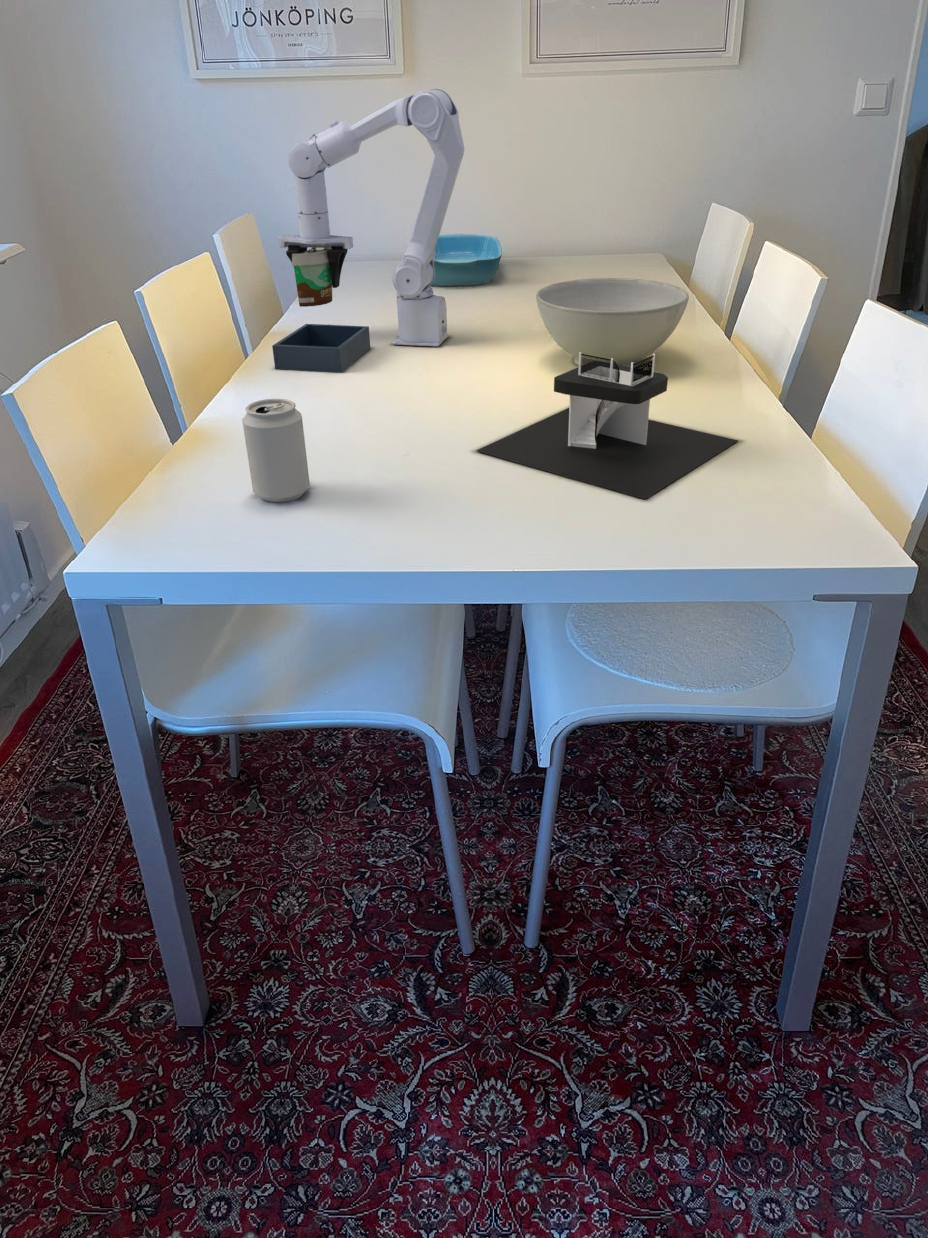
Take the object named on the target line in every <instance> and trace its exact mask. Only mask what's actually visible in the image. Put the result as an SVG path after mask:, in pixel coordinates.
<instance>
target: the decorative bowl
mask: <svg viewBox="0 0 928 1238" xmlns="http://www.w3.org/2000/svg"><path fill="white" fill-rule="evenodd" d="M689 299H690V297H689V293H688V292H687V291H686V289H683V288H681V287H679V286H676V285H674V284H671V283H668V282H667V283H666V282H661V281H655V280H649V279H641V278H627V277H626V278H625V277H599V278H598V277H595V278H593V277H592V278H582V279H581V278H580V279H572V280H565V281H560V282H556V283H552V284H549V285H547V286H546V285H545V286H543V287H542V288H540V289H539V290H537V292H536V294H535V300H536V306H537V309H538V312H539V315H540V318H541V320H542V323H543V325H544V327H545V329H546V330H547V332H548V334H549V335H550V337H551V338H552V340H553V341H554V342H555V343H556V344H557V346H558V347H560V348H561V350H563V351H565V352H566V353H567V354H568V355H570V356H572V357H573V362H574V363H575V365H577V366H579V352H582V354H586V355H591V356H596V357H601V358H606V359H611V358H613V360H614V361H615V363H616V364H617V365H622V366H627V367H631V362H634V364H635V363H637V362H639V361H641V360H644V359H645V358H647V356H649V355H651V354H653V353H654V352H655V351H657V350H658V349H660V348H661V347H662V345H663V344H664V343H666V341H667V340H668V339H669V338H670V337H671V335H672V334H673V332H675V330H676V328H677V327H678V325H679V324H680V321H681V320H682V317H683V316H684V314H685V310H686V308H687V306H688V303H689ZM581 358H582V360H583V358H584V356H583V355H582V357H581ZM586 359H588V361H589V359H590V357H589V356H586ZM586 359H585V363H586V364H587V360H586ZM592 360H596V358H595V357H592ZM592 360H591V362H592ZM598 361H601V359H600V358H598ZM603 362H607V361H606V360H605V359H603ZM608 363H611V361H610V360H608ZM615 363H614V362H613V364H615ZM583 364H584V363H583ZM639 364H640V363H639ZM639 364H638V366H639ZM581 366H582V364H581ZM635 367H636V365H635V366H634V368H635ZM639 367H640V366H639Z"/></svg>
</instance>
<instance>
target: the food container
mask: <svg viewBox="0 0 928 1238" xmlns="http://www.w3.org/2000/svg"><path fill="white" fill-rule="evenodd" d="M323 245H325V244H323ZM329 250H331V248H311V247H310V249H307V250H305V251H303V252H302V253H301V254H292V262H291V266H293V270H294V279H295V284H296V291H297V298H298V299H297V300H298V305H299V308H300V307H305V308H306V307H318V306H323V305H327V304H330V303H332V302H333V287H332V280H331V269H330V263H329V259H328V255H327V251H329Z"/></svg>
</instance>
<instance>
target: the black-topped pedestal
mask: <svg viewBox="0 0 928 1238" xmlns="http://www.w3.org/2000/svg"><path fill="white" fill-rule="evenodd" d="M582 355H583V356H584V358H583V360H582V358H581V357H582ZM586 356H589V357H590V359H589V361H588V359H586ZM592 357H595V358H596V360H592ZM598 358H600V359H601V361H598ZM585 359H586V360H587V364H586V363H585ZM603 359H605V360H606V361H607V362H603ZM591 360H592V362H591ZM608 360H610V361H611V363H608ZM655 360H656V353H652V355H650V356H648V357H645V358H643V359H642V360H641V361H639V362H637V363H635V364H634V362H631V367H627V366H622V365H617V364H616V363H615V361H614V360H613V358H611V359H606V358H601V357H596V356H591V355H586V354H582V352H579V365H578V366H577V367H575V368H573V369H571V370H568V371H566V372H564V373H561V374H559V375H556V376H554V377H553V392H554V393H558V394H563V395H567V396H569V406H568V408H565V409H563V410H560V411H558V412H556V413H554V414H552V415H549V416H548V417H545V418H544V419H541V420H539V421H537V422H534V423H533V424H530V425H528V426H526V427H524V428H522V429H520V430H518V431H515V432H513V433H511V434H509V435H506V436H505V437H502V438H500V439H497V440H496V441H493V442H492V443H491V442H490V443H489V444H487V445H485V446H483V447H481V448H478V449H476V450H475V451H476V452H479V453H483V454H486V455H489V456H493V457H496V458H500V459H504V460H507V461H511V462H513V463H518V464H521V465H525V466H527V467H528V466H529V467H531V468H534V469H538V470H541V471H545V472H549V473H553V474H556V475H560V476H563V477H566V478H569V479H573V480H576V481H581V482H582V483H583V482H584V483H586V484H591V485H595V486H597V487H600V488H605V489H609V490H611V491H615V492H618V493H622V494H626V495H629V496H633V497H636V498H640V499H643V500H646V499H648V498H650V497H651V496H653V495H654V494H656V493H657V492H659V491H661V490H662V489H664V488H665V487H667V486H669V485H670V484H672V483H674V482H675V481H677V480H678V479H680V478H681V477H683V476H684V475H686V474H688V473H690V472H691V471H692V470H694V469H696V468H697V467H699V466H701V465H702V464H704V463H706V462H707V461H709V460H710V459H712V458H714V456H716V455H718V454H720V453H721V452H723V451H724V450H726V449H727V448H729V447H731V446H732V445H734V444H735V443H737V442H739V439H735V438H731V437H725V436H721V435H717V434H713V433H708V432H705V431H700V430H697V429H696V430H695V429H691V428H687V427H684V426H683V427H682V426H678V425H673V424H670V423H666V422H661V421H655V420H652V419H650V405H651V400H652V399H653V398H655V397H657V396H659V395H661V394H663V393H666V392H667V390H668V382H669V377H668V376H667V375H666V374H664V373H661V372H657V371H655ZM613 362H614V363H615V364H613ZM583 363H584V364H583ZM639 363H640V364H639ZM581 364H582V366H581ZM638 364H639V366H638ZM635 365H636V367H635V368H634V366H635Z"/></svg>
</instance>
